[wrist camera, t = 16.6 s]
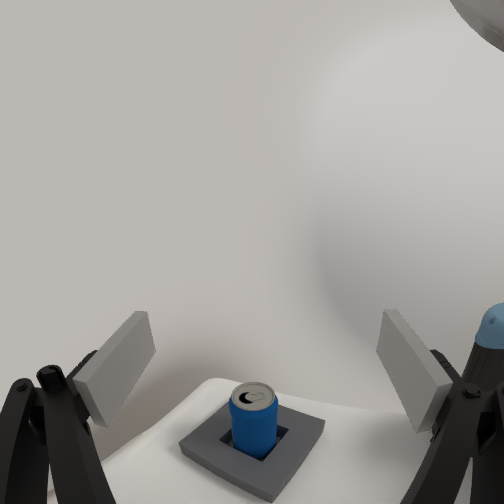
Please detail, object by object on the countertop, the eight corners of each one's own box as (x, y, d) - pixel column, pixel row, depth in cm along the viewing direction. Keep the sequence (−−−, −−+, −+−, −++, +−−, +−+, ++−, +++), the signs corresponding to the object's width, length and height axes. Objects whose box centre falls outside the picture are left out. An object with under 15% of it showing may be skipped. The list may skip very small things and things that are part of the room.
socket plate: (322, 431, 38) (325, 420, 37) (272, 503, 25) (272, 495, 24) (242, 401, 47) (241, 389, 46) (182, 453, 34) (178, 442, 33)
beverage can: (230, 435, 38) (224, 384, 35) (268, 428, 40) (269, 376, 37) (238, 465, 32) (233, 416, 29) (281, 456, 34) (285, 406, 31)
